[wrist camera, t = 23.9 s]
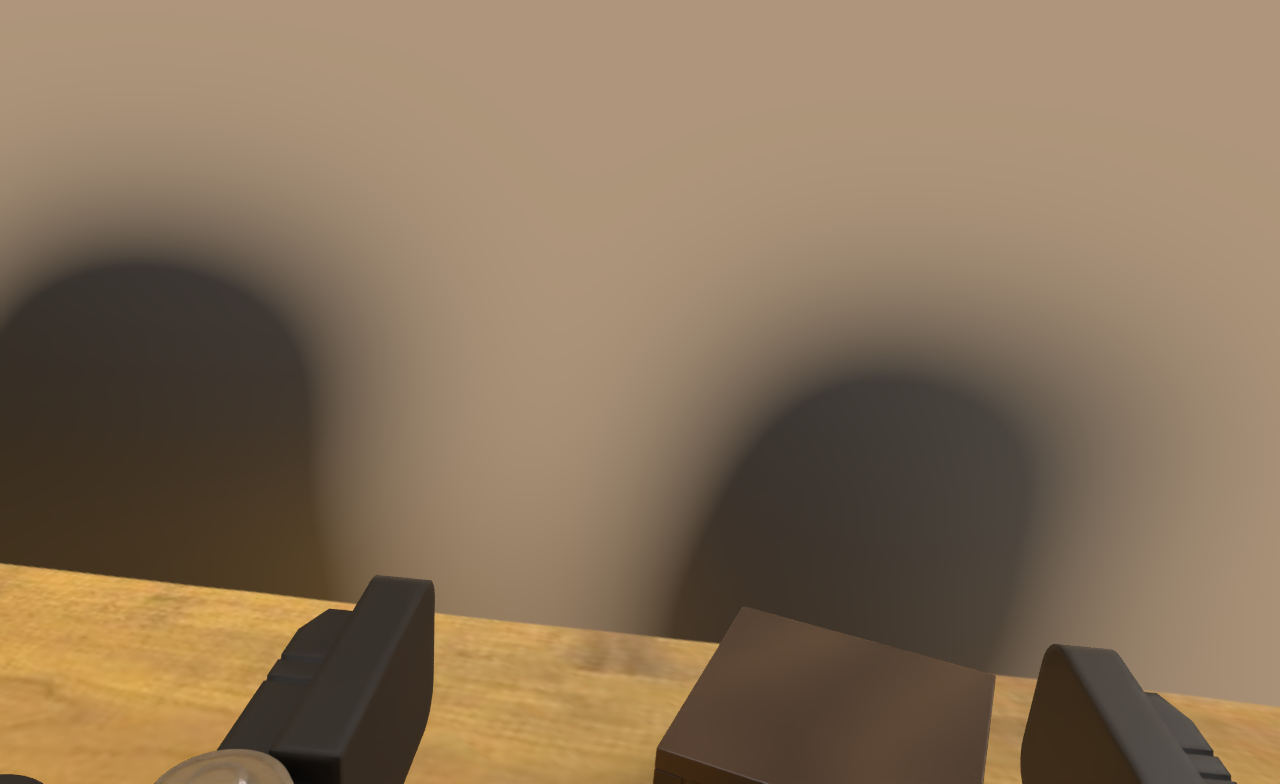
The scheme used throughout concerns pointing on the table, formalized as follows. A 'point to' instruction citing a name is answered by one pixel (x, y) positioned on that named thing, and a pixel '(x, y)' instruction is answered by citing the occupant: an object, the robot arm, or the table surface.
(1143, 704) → the robot arm
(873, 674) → the stand
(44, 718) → the table surface
